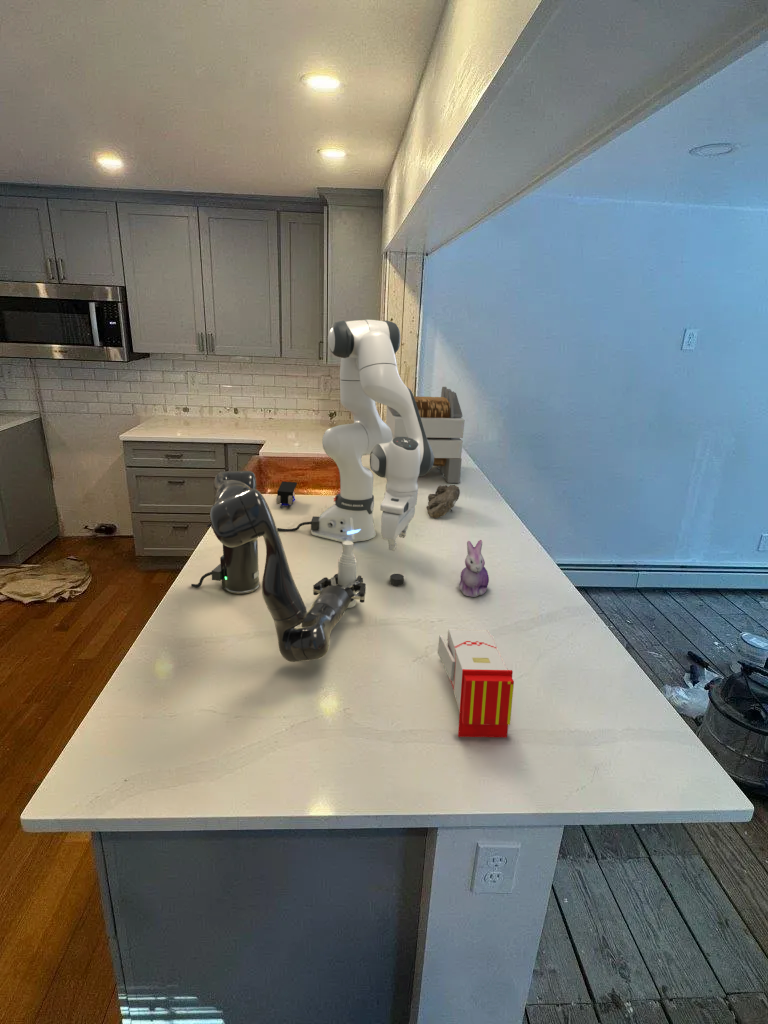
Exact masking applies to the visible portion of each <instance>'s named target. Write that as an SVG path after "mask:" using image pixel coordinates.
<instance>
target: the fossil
mask: <svg viewBox="0 0 768 1024" xmlns="http://www.w3.org/2000/svg"><path fill="white" fill-rule="evenodd" d="M459 487H460V486H457V485H456V484H450V485H447V484H445V485H438V486H437V488H436V491H435V492H434V493H430V494H428V495H427V505H426V510H427V514H428V515H429V517H430V518H432V519H438V518H441V517H444V516H445V515H446V514H447V513H449V512H450V511H451V512H452V511H453V510H452V509H453V508H454V506H455V504H456V503H457V502H458V500H459V498H460V494H461V490H460V488H459Z"/></svg>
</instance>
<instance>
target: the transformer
mask: <svg viewBox="0 0 768 1024" xmlns="http://www.w3.org/2000/svg"><path fill="white" fill-rule="evenodd" d="M440 393H441V394H440V396H415V395H413V396H414V398H415V401H416V404H417V407H418V411H419V414H420V417H421V421H422V424H423V427H424V431H425V434H426V437H427V440H428V442H429V444H430V446H431V448H432V451H433V454H434V464H433V466H432V467H436V468H437V470H438V469H439V473H440V474H441V475H443V478H444V479H445V481H446V482H447V483H449V484H455V483H456V484H459V483H461V472H462V461H463V460H462V453H463V442H464V441H463V440H462V439H463V438H464V431H465V430H464V429H465V419H464V418H463V411H462V408H461V405H460V402H459V398H458V395H457V392H455V391H453V390H452V389H451V388H447V386H442V387H441V392H440ZM385 414H386V415H385V423H386V424H387V425H388V426H389V428H390V429H391V432H392V439H394V438H396V437H408V436H407V432H406V429H405V426H404V422H403V419H402V417H401V415H400V414H399V413H398V412H397V411H396V410H394V409H393V408H391V407H389V406H386V413H385Z"/></svg>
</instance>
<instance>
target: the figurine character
mask: <svg viewBox="0 0 768 1024" xmlns="http://www.w3.org/2000/svg"><path fill="white" fill-rule="evenodd" d="M297 484H298V482H296V481H295V482H294V481H284V480H283V481H281V483H280V485H279V487H278V489H277V494H276V498H275V499H276V500H275V503H276V505H279V508H280V509H283V506H285V507H287V509H290V508H291V506H292V505H293V503H294V502H295V501H296V497H295V496H296V492H295V489H296V488H297Z"/></svg>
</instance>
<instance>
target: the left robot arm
mask: <svg viewBox="0 0 768 1024" xmlns="http://www.w3.org/2000/svg"><path fill="white" fill-rule="evenodd" d="M212 491H213V496H214V497H213V504H212V506H211V507H210V509H209V521H210V523H211V526H210V527H211V528H212V531H213V533H214V535H215V537H216V538H217V541H219V542H220V543H221V544H222V555H221V556H220V559H219V560H220V561H219V562H220V563H219V564H218V565H217V566H216V567H214V568H213V569H212V570H211V571H209V572H207V573H205V574H203V575H202V576H201V577H200V579H199V582H198V583H191V585H190V587H191V588H200V587H201V586H202V584H203V582H204V580H205V579H206V578H207V577H209V576H211V580H212V581H218V582H221V589H222V590H225V592H227V593H230V594H233V595H234V594H235V595H245V594H249V593H253V592H255V591H257V590H258V589H259V588H260V570H259V569H260V567H259V543H258V540H259V539H258V538H261V537H263V540H264V543H265V553H266V554H265V564H264V569H263V575H262V581H261V594H262V598H263V601H264V603H265V606H266V607H267V610H268V612H269V614H270V617H272V620H273V622H274V626H275V632H276V637H277V645H278V651H279V654H280V655H281V657H282V658H283V659H285V660H286V661H288V662H289V663H297V662H304V661H305V662H307V661H313V660H318V659H322V658H323V657H324V656H325V655H326V654H327V653H328V652H329V648H330V640H331V634H332V631H333V630H334V628H335V626H336V625H337V624H338V623H339V622H340V620H341V619H342V617H343V616H344V614H345V612H346V611H347V609H349V608H348V606H349V604H350V602H352V601H353V600H354V599H356V600H357V601H359V603H362V604H363V603H365V600H366V586H367V585H366V583H364V577H362V575H358V576H356V580H355V582H354V583H349V584H347V585H345V586H342V585H338V573H335V574H334V575H333V576H332V577H330V578H329V577H326V576H325V577H322V579H320V580H319V581H317V582H316V583H315V584H313V585H312V587H313V588H312V589H313V590H312V595H313V596H317V597H316V598H315V599H314V601H313V602H312V603H311V606H310V608H309V609H308V610H307V607H306V604H305V603H304V602H305V601H304V600H303V598H302V596H301V593H300V591H299V589H298V586H297V585H296V583H295V580H294V577H293V574H292V572H291V569H290V565H289V562H288V559H287V555H286V552H285V548H284V545H283V542H282V540H281V537H280V536H281V535H280V534H279V531H278V530H277V528H278V527H277V525H276V522H275V519H274V516H273V514H272V511H271V509H270V506H269V504H268V502H267V501H266V498H265V497H264V496H263V494H262V492H260V491H259V490H258V483H257V477H256V475H255V473H254V472H253V471H251V470H229V471H228V470H227V471H221V472H218V473H217V474H216V475H215V477H214V480H213V490H212ZM355 593H356V594H355ZM299 625H301V627H299Z"/></svg>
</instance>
